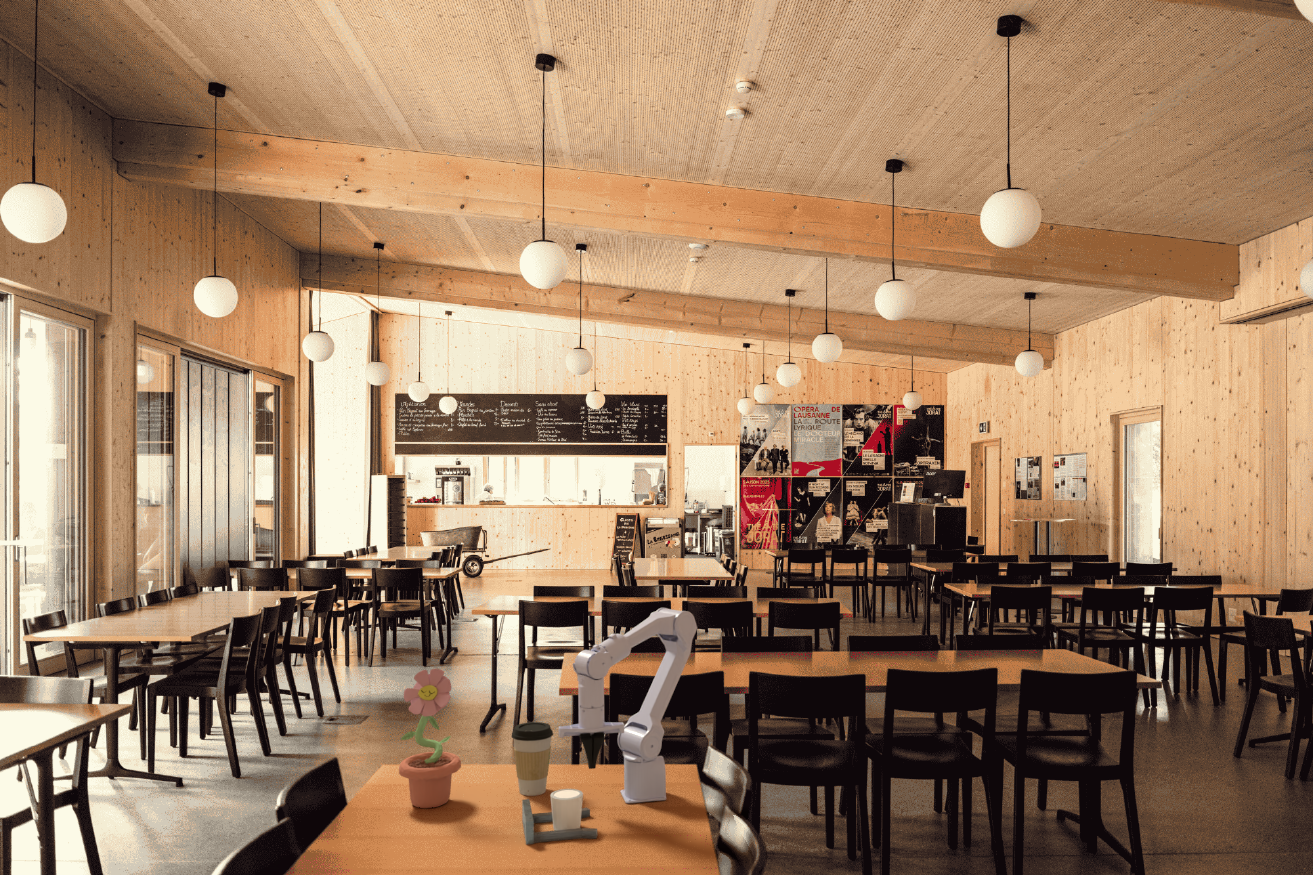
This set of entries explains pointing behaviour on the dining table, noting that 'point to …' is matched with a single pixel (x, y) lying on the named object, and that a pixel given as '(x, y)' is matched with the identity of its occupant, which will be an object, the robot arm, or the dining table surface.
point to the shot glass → (566, 808)
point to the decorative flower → (429, 743)
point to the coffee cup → (532, 756)
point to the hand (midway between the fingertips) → (591, 767)
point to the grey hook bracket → (554, 835)
